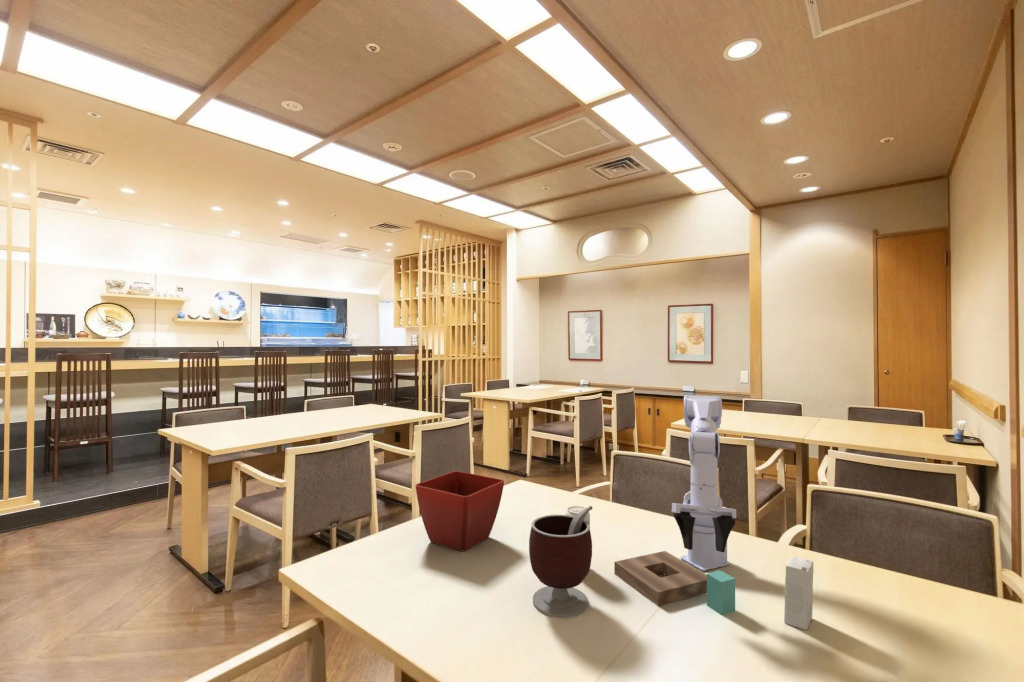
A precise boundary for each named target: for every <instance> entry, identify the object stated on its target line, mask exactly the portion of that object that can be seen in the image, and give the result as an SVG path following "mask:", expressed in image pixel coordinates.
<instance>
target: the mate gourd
mask: <svg viewBox="0 0 1024 682" xmlns="http://www.w3.org/2000/svg"><path fill="white" fill-rule="evenodd" d="M585 508H586V509H584V510H582V511H581V512H579V513H578V514H577V515H576V516H575V517H574V516H569V515H566V514H548V515H543V516H539V517H537V518H535V519H534V520H533V521H532V522H531V527H530V532H529V540H528V553H529V560H530V562H529V563H530V566H531V570H532V572H533V574H534V575H535V576H536V577H537V579H538V580H539V581H540V583H542V585H545V586H544V587H541V588H540V589H537V590H536V591H535V592H534V593H533V596H532V605H533V607H534V608H535V609H536V610H537V611H538V612H540V613H541V614H543V615H546V616H548V617H552V618H557V619H569V618H575V617H577V616H580V615H582V614H583V613H585V612H586V611H587V610H588V608H589V598H588V597H587V595H586V594H585V593H584V592H582V591H581V590H580V589H578V588H576V587H578V586H579V585H581V583H583V581H584V580H585V579H586V577H587V576H588V575H589V572H590V569H591V565H592V564H591V563H592V557H593V541H592V533H591V528H590V527H591V526H589V524H588V523H587V522H586V521H585V520H584V518H585V516H586V515H587V513H588V512H589V513H590V511H592V510H593V506H592V505H589V506H588V507H585ZM589 528H590V529H589Z"/></svg>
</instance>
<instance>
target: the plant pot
mask: <svg viewBox="0 0 1024 682" xmlns="http://www.w3.org/2000/svg"><path fill="white" fill-rule="evenodd" d="M504 485H505V480H504V479H500V478H497V477H495V478H494V477H490V476H485V475H482V474H481V475H480V474H476V473H472V472H471V473H469V472H465V471H460V470H454V471H450V472H448V473H445V474H441V475H440V476H436V477H434V478H431V479H428V480H425V481H421V482H419V483H416V484H415V492H416V498H417V504H418V508H419V512H420V516H421V519H422V523H423V525H424V529H425V532H426V534H427V536H428V540H429V541H430V542H431V543H434V544H437V545H440V546H442V547H445V548H449V549H453V550H456V551H459V552H465V551H467V550H469V549H471V548H473V547H475V546H476V545H478V544H479V543H481V542H484V541H485V540H487V539H488V538H489V537H490V535H491V532H492V529H493V527H494V524H495V521H496V518H497V515H498V513H499V509H500V505H501V500H502V495H503V492H504V491H503V490H504Z"/></svg>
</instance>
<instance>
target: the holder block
mask: <svg viewBox="0 0 1024 682" xmlns="http://www.w3.org/2000/svg"><path fill="white" fill-rule="evenodd" d="M613 569H614V571H613V572H614V575H616V576H617V577H618V578H619V579H621V580H622V581H623V582H625V584H627V585H629V586H630V587H631V588H633V589H634V590H636V591H637V592H638V593H640V594H641V595H642V596H644V597H645V598H646V599H648V600H649V601H650V602H652V603H653V604H655V605H656V607H660V606H664V605H668V604H671V603H675V602H679V601H682V600H686V599H689V598H692V597H693V598H694V597H696V596H697V597H698V596H699V595H700V596H701V595H704V594H707V573H704V571H702V570H700V569H698V568H696V567H695V566H693V565H691V564H689V563H688V562H686V561H684V560H682V559H681V558H679V557H677V556H675V555H673V554H671V553H670V552H668V551H666V550H663V551H659V552H658V551H657V552H654V553H650V554H645V555H640V556H633V557H631V558H626V559H621V560H617V561H614V568H613ZM660 576H663V577H660Z"/></svg>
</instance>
